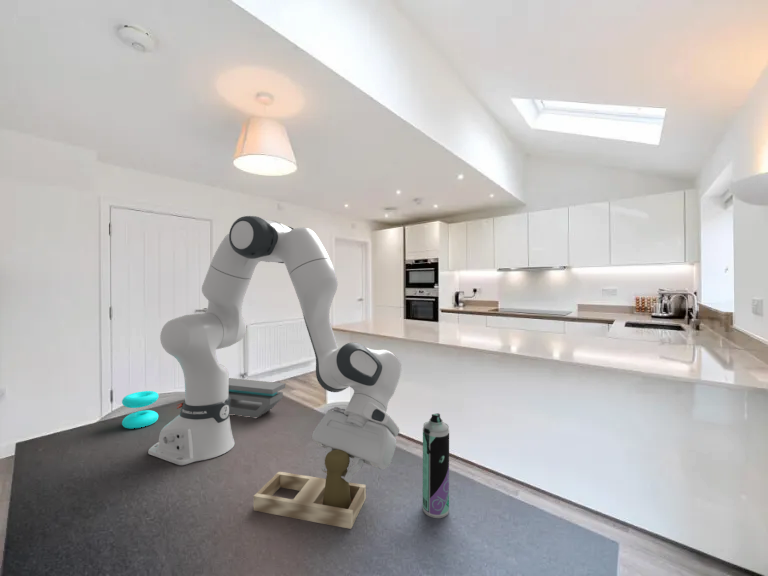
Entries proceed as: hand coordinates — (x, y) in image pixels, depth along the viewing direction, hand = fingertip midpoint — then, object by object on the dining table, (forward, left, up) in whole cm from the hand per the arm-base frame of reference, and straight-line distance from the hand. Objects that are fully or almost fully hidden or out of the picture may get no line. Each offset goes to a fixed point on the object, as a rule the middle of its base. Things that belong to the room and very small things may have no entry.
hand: (335, 476), depth 69 cm
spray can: (+20, +6, -7) cm, 22 cm away
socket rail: (-6, +1, -7) cm, 9 cm away
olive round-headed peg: (0, +1, -6) cm, 6 cm away
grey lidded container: (-51, +42, -7) cm, 67 cm away
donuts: (-81, +25, -7) cm, 85 cm away
